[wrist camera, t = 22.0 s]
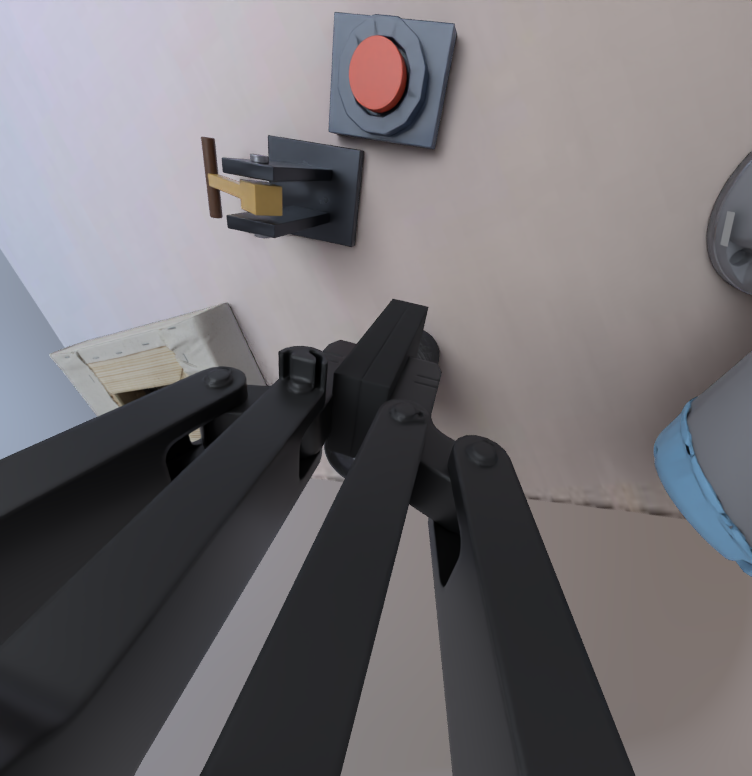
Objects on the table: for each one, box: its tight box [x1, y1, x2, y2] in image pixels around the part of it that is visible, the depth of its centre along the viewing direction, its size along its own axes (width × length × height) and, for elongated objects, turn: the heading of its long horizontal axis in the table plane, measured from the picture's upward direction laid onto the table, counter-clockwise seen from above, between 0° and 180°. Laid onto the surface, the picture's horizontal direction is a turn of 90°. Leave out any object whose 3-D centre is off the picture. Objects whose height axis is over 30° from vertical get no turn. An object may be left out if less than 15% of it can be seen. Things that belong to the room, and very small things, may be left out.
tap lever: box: [201, 137, 282, 218], centre depth 32 cm, size 13×7×2 cm
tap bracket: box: [222, 135, 364, 247], centre depth 33 cm, size 10×9×13 cm
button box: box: [329, 12, 457, 149], centre depth 30 cm, size 10×8×4 cm
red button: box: [349, 35, 407, 113], centre depth 28 cm, size 4×4×2 cm
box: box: [50, 303, 267, 442], centre depth 56 cm, size 23×8×32 cm
